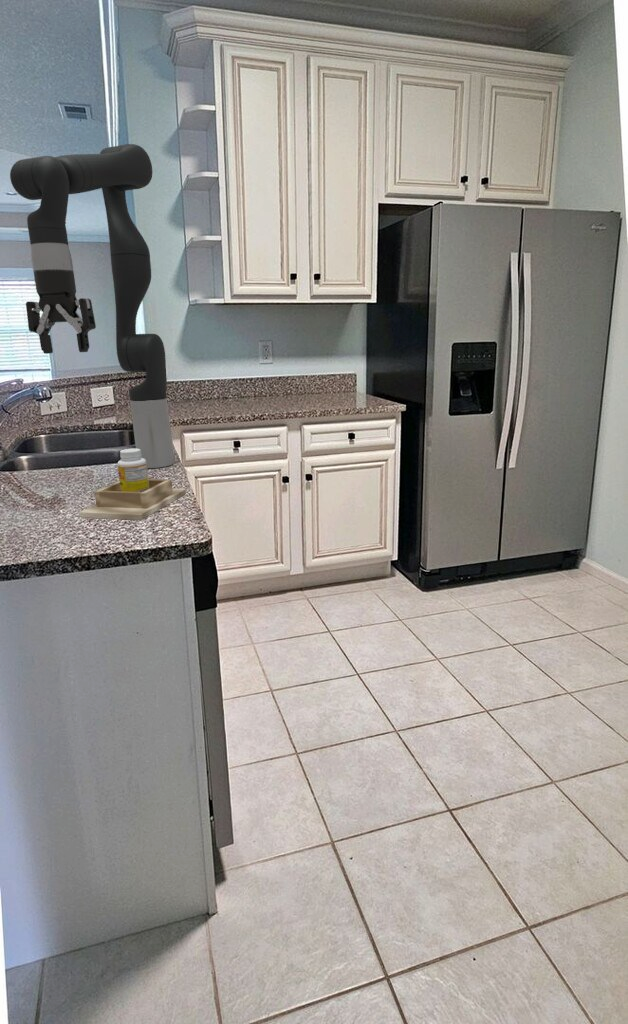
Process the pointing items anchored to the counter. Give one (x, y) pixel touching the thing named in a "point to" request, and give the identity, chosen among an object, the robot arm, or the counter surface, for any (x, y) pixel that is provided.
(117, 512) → the cup caddy
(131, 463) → the supplement bottle
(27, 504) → the counter surface
